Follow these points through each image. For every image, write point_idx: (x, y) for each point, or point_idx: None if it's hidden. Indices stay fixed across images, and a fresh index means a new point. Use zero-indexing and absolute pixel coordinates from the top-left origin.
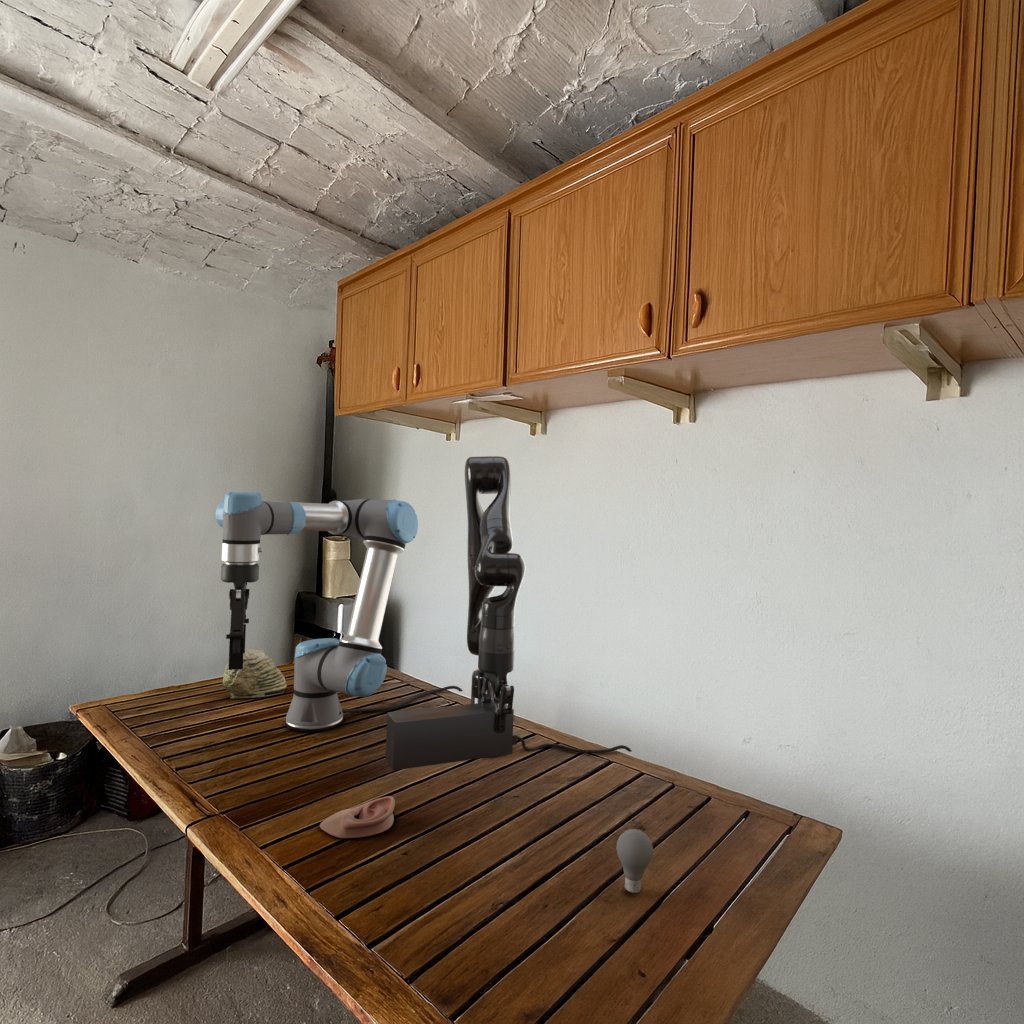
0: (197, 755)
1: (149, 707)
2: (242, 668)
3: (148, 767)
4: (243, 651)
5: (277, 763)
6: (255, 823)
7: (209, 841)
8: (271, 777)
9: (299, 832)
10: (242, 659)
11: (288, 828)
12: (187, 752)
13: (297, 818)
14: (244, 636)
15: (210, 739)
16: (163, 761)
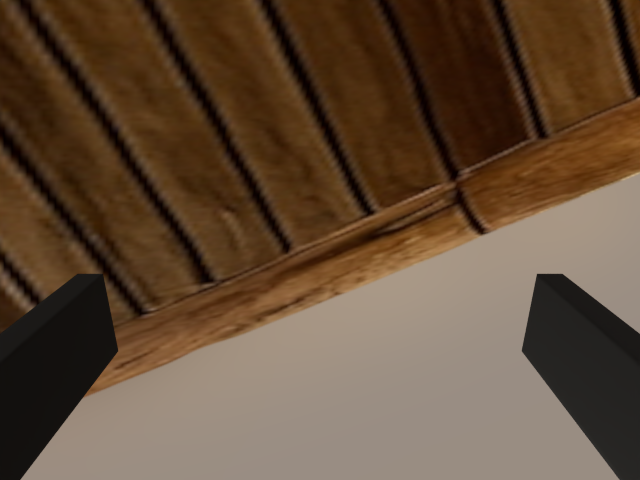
0: (132, 248)
1: None
2: (564, 277)
3: (187, 332)
4: (96, 288)
5: (214, 51)
6: (532, 106)
7: (564, 192)
8: (302, 69)
9: (619, 6)
10: (606, 312)
11: (589, 32)
12: (111, 271)
13: (551, 7)
14: (17, 359)
15: (27, 228)
16: (159, 310)
